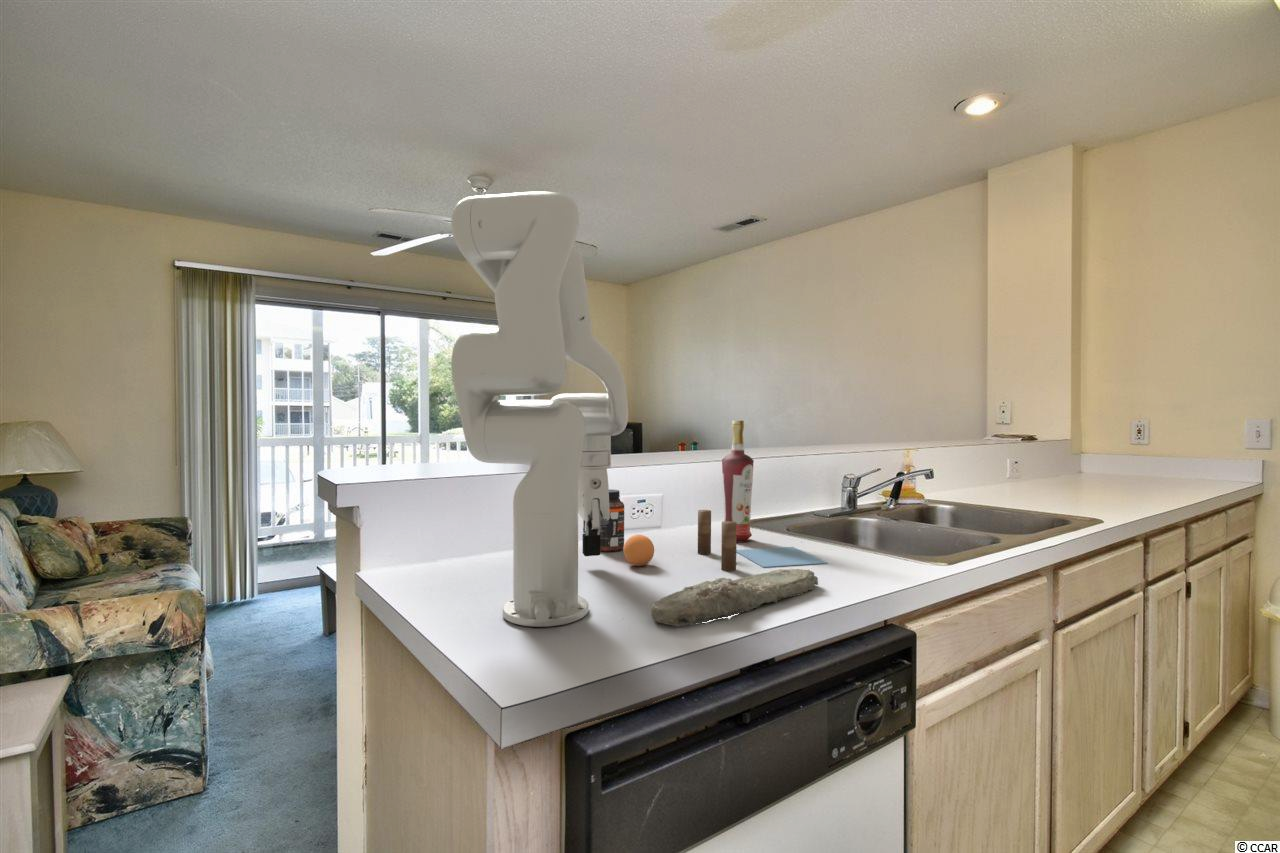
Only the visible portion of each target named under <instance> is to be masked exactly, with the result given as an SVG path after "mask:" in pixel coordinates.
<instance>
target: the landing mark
mask: <svg viewBox="0 0 1280 853" xmlns="http://www.w3.org/2000/svg"><path fill="white" fill-rule="evenodd" d="M736 554H739V555H740V556H742V557H744V558H745V559H747V560H750V561H751V562H752V563H754V564H756V565H758V566H760V567H762V568H777V567H780V568H781V567H794V566H795V567H796V566H809V565H810V566H812V565H824V564H825V565H826V564H827V565H828V564H829V562H828V561H826V560H823V559H821V558H818V557H817V556H814V555H812V554H810V553H808V552H806V551H803V550H801V549H798V548H796V547H794V546H785V547H780V546H779V547H766V548H764V547H763V548H748V549H746V548H745V549H736Z"/></svg>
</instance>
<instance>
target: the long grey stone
mask: <svg viewBox="0 0 1280 853" xmlns="http://www.w3.org/2000/svg"><path fill="white" fill-rule="evenodd" d="M818 585H819V578H818V577H817V576H816V575H815V572H814V571H812V570H810V569H802V568H801V569H799V568H795V569H794V568H789V569H784V568H783V569H781V568H780V569H776V570H772V571H771V570H770V571H768V572H763V573H757V574H752V575H747V576H745V577H741V578H737V579H733V580H732V579H731V578H727V577H717V578H715V580H713V581H709V580H706V581H702V582H700V583H698V584H694V585H690V586H685V587H684V588H683V589H681V590H680V591H676V592H674V593H673V592H672V593H671V594H669V595H667V596H664V597H663V598H660V599H659V600H656V601H654V602H653V603H652V605H651V609H650V613H651V614H650V615H651V619H652V620H653V621H655V622H656V623H658V624H659V623H660V624H661V623H662V624H664V625H672V626H674V625H675V626H674V627H676V626H679V627H682V625H683V626H688V625H687V624H690V625H697V624H696V623H702V622H707V621H709V620H713V619H718V618H722V617H728V616H731V615H734V614H738V613H740V612H742V613H745V612H744V611H746V612H749V611H752V610H755V609H754V608H758V607H760V606H761V605H763V604H769V603H773V602H776V603H777V602H778V601H779V600H782V599H785V598H793V597H796V596H795V595H798V594H801V595H803V594H802V593H804V592H805V593H807V592H809V591H813V588H815V586H818ZM808 590H809V591H808ZM805 593H804V594H805ZM792 596H793V597H792ZM798 596H799V595H798ZM777 600H778V601H777ZM748 610H749V611H748ZM740 614H741V613H740ZM738 615H739V614H738ZM680 625H681V626H680Z"/></svg>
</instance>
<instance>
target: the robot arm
mask: <svg viewBox="0 0 1280 853" xmlns="http://www.w3.org/2000/svg"><path fill="white" fill-rule="evenodd" d="M579 212H580V211H579V209H578V205H577V203H576V202H575V200H574V199H573V198H572V197H570V196H569V195H567V194H564V193H562V192H556V191H544V190H543V191H542V190H540V191H524V192H511V193H510V192H509V193H499V194H485V195H484V194H482V195H474V196H467V197H465V198H463V199H461V200H459V201H458V203H457V204H456V205H455V207H453V210H452V213H451V218H450V219H451V220H450V224H451V232H452V236H453V239H454V242H455V244H456V246H457V248H458V250H459V252H460V254H462V256H463V257H464V258H465V260H466V261H467V263H468V264H469V265H470V266H471V267H472V268H473V270H474V271H475V272H476V273H477V274H478V276H479V277H480V278H481V279H482V280H483V282H484V283H485V284H486V285H487V286H488V287H489V289H490V290H492V291H493V293H494V302H495V303H494V304H495V309H496V317H497V318H496V319H497V324H498V327H494V328H488V327H487V328H486V327H485V328H476V329H470V330H468V331H465V332H463V333H462V334H461V335H460V336H459V337H458V338H457V340H456V341H455V343H454V345H453V348H452V353H451V360H450V361H451V363H450V364H451V366H450V368H451V377H452V384H453V388H454V394H455V397H456V403H457V407H458V411H459V412H458V413H459V417H460V422H461V426H462V431H463V435H464V436H463V437H464V439H465V443H466V447H467V448H468V449H467V450H468V451H469V453H470V454H471V456H472V457H473V458H474V459H476V460H477V461H479V462H482V463H486V464H487V463H488V464H503V465H504V464H505V465H506V464H507V465H508V464H509V465H512V464H514V465H528V466H530V467H529V469H528V471H527V472H526V473H525V475H524V476H523V477H522V478H521V480H520V482H518V484H517V486H516V488H515V490H514V494H513V501H512V504H513V505H512V506H513V508H512V509H513V519H512V520H513V522H512V523H513V527H512V532H513V538H512V539H513V540H512V543H513V546H512V550H513V552H512V554H513V555H512V556H513V559H512V560H513V561H512V562H513V563H512V564H513V565H512V566H513V568H512V571H513V572H512V573H513V574H512V579H513V580H512V583H513V585H512V587H513V591H512V592H513V593H512V595H513V596H512V597H513V598H512V599H510V600H508V601H507V602H505V603H504V604H503V606H502V617H503V618H504V619H505V620H506V621H508V622H509V623H511V624H515V625H519V626H523V627H535V628H537V627H538V628H541V627H542V628H543V627H548V628H549V627H556V626H563V625H568V624H572V623H574V622H577V621H578V620H581V619H583V618H584V617H585V616H586V615H588V612H589V602H588V601H587V599H585V598H584V597H582V596H580V595H579V516H580V518H581V519H582V554H583V556H584V557H597V556H600V555H601V551H600V515H601V516H602V517H603V519H604V520H605V521H608V520H609V519H610V510H609V489H610V488H609V476H608V469H609V468H611V467H612V450H611V449H612V448H611V446H612V441H611V440H612V438H611V437H612V436H614V437H615V436H618V435H620V434H622V433H623V432H624V431H625V429H626V427H627V425H628V421H629V408H628V407H629V406H628V395H627V388H626V387H627V386H626V380H625V376H624V374H623V371H622V369H621V366H620V365H619V363H618V362H617V360H616V359H615V357H614V356H613V355H612V354H611V351H609V350H608V349H607V348H606V347H605V346H604V345H603V344H602V343H601V342H600V341H598V340H597V338H596V337H595V335H594V333H593V332H594V331H593V326H592V325H593V324H592V319H591V311H590V310H591V309H590V304H589V296H588V288H587V282H586V276H585V275H586V274H585V266H584V260H583V256H582V253H581V252H580V250H578V249H577V247H575V246H574V245H575V243H576V240H577V237H578V234H579V233H578V232H579V227H580V213H579ZM567 361H570V362H573V363H575V364H577V365H578V366H581V367H583V368H584V369H587V370H588V371H590V372H591V373H593V375H595V376H596V377H598V379H599V380H600V381H601V382H602V383H603V385H604V388H605V389H606V392H580V393H579V392H578V393H576V392H575V393H574V392H573V393H570V392H568V393H567V392H565V393H559V394H557V395H555V396H553V397H552V398H551V399H499V396H501V397H502V396H504V397H505V396H506V397H507V396H511V397H512V396H514V397H515V396H517V397H518V396H520V397H521V396H522V397H523V396H528V397H529V396H543V395H550V394H553V393H556V392H558V391H560V390H561V389H562V388H563V386H564V385H565V382H566V379H567Z"/></svg>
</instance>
